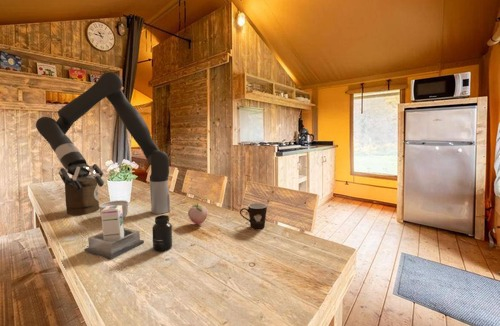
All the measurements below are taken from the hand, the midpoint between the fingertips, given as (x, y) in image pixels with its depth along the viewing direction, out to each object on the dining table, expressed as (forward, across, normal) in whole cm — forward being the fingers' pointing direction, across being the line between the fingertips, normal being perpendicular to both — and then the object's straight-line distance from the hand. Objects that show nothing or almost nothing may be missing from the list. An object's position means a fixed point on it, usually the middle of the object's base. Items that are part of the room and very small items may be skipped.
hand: (91, 187), depth 96 cm
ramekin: (+3, +22, +28) cm, 36 cm away
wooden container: (-14, +22, +45) cm, 52 cm away
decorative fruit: (+35, +31, -4) cm, 47 cm away
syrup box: (+24, -2, +6) cm, 24 cm away
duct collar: (+24, -1, +6) cm, 25 cm away
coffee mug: (+53, +39, -22) cm, 69 cm away
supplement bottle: (+36, +5, -6) cm, 37 cm away
